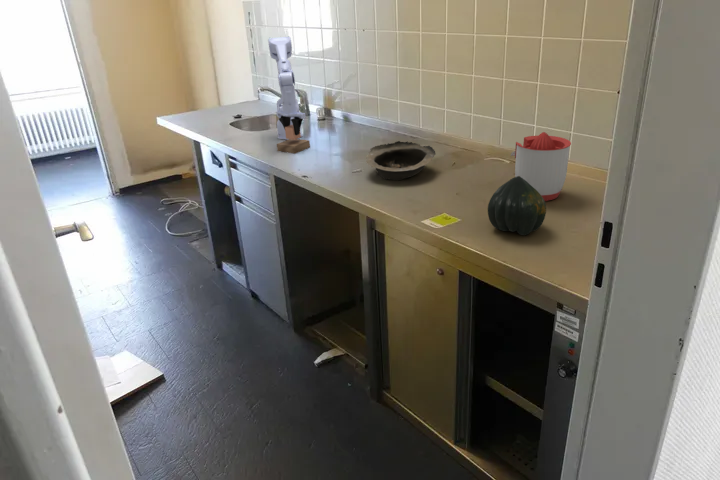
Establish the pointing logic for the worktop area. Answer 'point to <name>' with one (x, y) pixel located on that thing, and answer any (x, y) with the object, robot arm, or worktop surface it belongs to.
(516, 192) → the squash
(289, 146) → the walnut block
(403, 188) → the worktop surface
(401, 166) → the stone bowl
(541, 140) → the citrus juicer
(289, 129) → the terracotta cube
